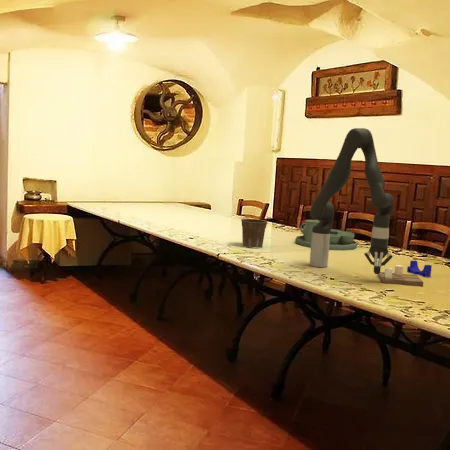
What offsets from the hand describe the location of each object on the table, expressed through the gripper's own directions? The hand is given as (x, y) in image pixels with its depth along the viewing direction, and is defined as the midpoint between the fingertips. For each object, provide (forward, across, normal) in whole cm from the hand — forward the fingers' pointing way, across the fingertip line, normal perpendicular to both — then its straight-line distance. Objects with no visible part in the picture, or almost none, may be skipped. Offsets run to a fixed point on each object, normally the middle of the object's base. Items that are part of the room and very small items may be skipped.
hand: (376, 274), depth 237 cm
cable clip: (+4, -24, -25) cm, 35 cm away
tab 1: (+1, -5, 0) cm, 5 cm away
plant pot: (+3, +65, -67) cm, 94 cm away
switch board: (+3, -11, -5) cm, 13 cm away
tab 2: (+1, -11, -9) cm, 15 cm away
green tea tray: (+4, +21, -99) cm, 101 cm away
